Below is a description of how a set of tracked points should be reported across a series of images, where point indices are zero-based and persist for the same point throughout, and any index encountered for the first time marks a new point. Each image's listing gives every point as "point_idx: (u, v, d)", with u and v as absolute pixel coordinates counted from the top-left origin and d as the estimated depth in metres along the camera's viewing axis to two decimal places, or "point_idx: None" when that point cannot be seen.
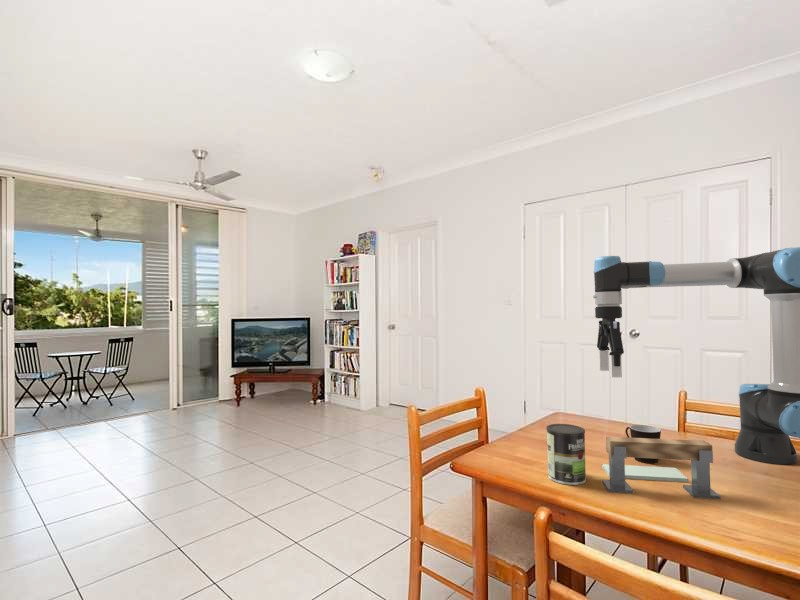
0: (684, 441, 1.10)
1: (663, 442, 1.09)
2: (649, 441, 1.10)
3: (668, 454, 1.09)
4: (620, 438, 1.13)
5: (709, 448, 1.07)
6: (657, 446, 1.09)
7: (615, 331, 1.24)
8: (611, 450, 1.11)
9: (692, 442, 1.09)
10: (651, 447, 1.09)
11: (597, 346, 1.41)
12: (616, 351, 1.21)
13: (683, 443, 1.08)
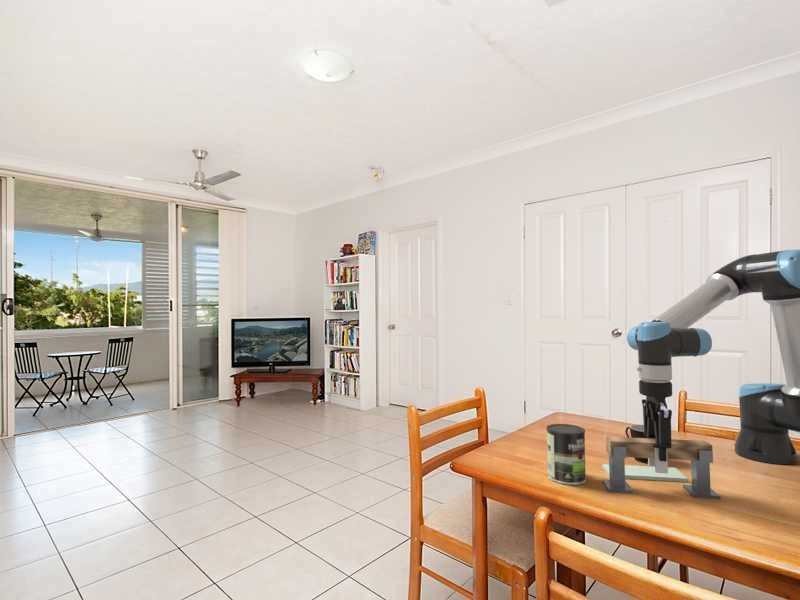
0: (684, 441, 1.10)
1: None
2: (649, 441, 1.10)
3: (668, 454, 1.09)
4: (620, 438, 1.13)
5: (709, 448, 1.07)
6: None
7: (665, 422, 1.05)
8: (611, 450, 1.11)
9: (692, 442, 1.09)
10: (651, 447, 1.09)
11: (644, 433, 1.16)
12: (662, 445, 1.06)
13: (683, 443, 1.08)
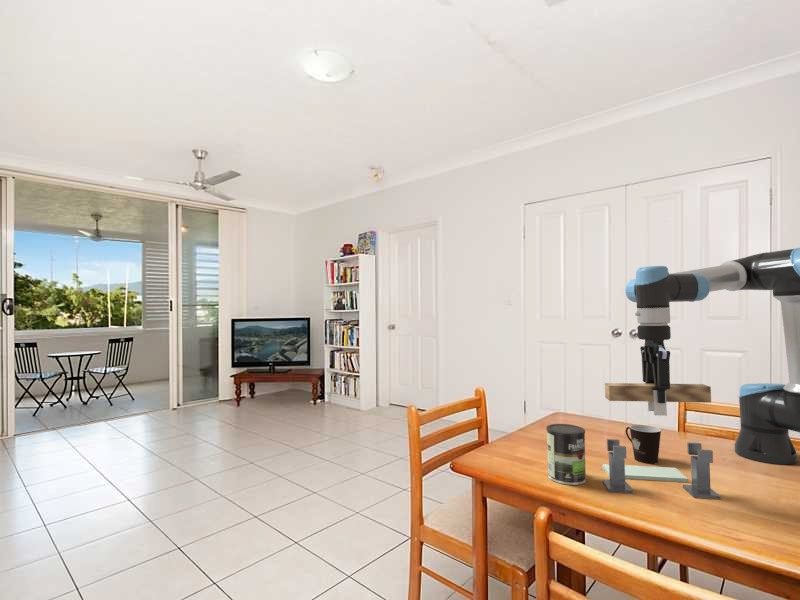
0: (683, 384, 1.10)
1: None
2: (648, 385, 1.11)
3: (666, 397, 1.09)
4: (619, 383, 1.14)
5: (707, 389, 1.07)
6: None
7: (663, 363, 1.06)
8: (610, 394, 1.12)
9: (690, 385, 1.10)
10: (650, 390, 1.10)
11: (643, 380, 1.16)
12: (661, 386, 1.06)
13: (682, 386, 1.09)
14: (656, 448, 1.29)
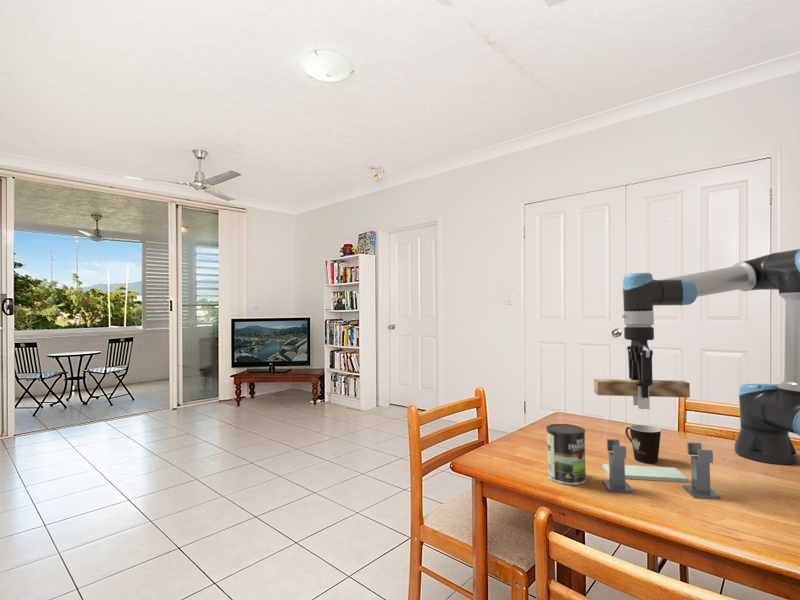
0: (664, 381, 1.21)
1: None
2: (633, 381, 1.22)
3: (649, 392, 1.20)
4: (607, 380, 1.25)
5: (687, 385, 1.18)
6: None
7: (646, 361, 1.16)
8: (598, 389, 1.22)
9: (672, 381, 1.20)
10: (634, 386, 1.20)
11: (629, 377, 1.27)
12: (644, 382, 1.17)
13: (664, 382, 1.20)
14: (656, 448, 1.29)
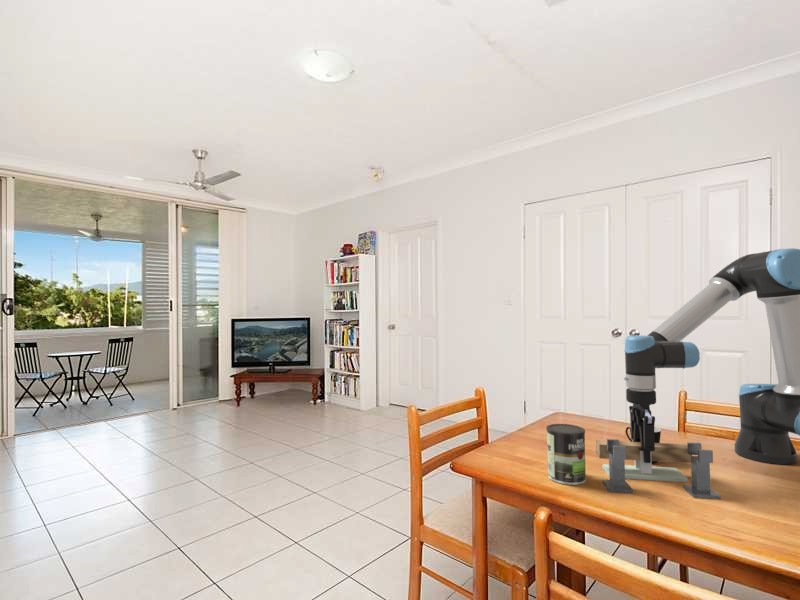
0: (667, 444, 1.21)
1: None
2: (635, 444, 1.21)
3: (652, 457, 1.19)
4: None
5: None
6: None
7: (649, 427, 1.16)
8: (600, 453, 1.22)
9: (674, 445, 1.20)
10: (636, 450, 1.20)
11: (631, 437, 1.27)
12: (647, 448, 1.16)
13: (666, 446, 1.19)
14: None
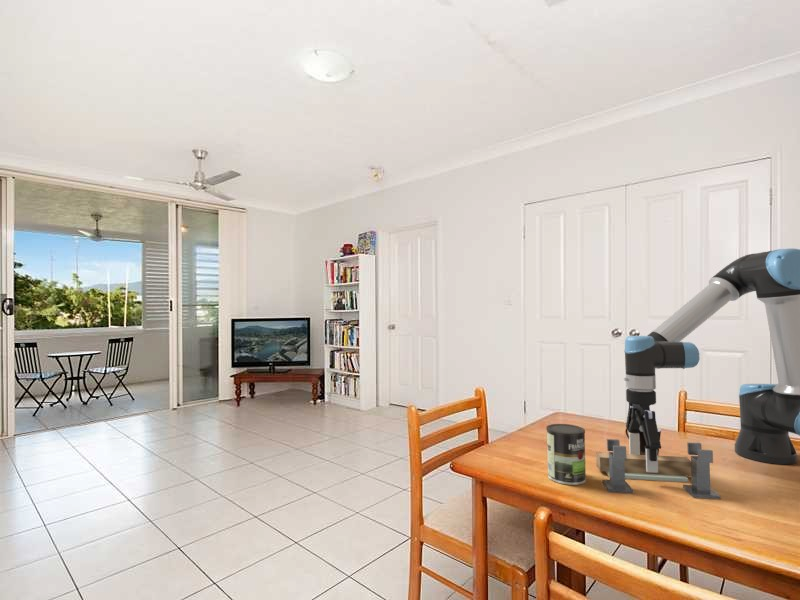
0: (667, 457, 1.21)
1: None
2: (636, 457, 1.21)
3: None
4: None
5: (689, 464, 1.17)
6: (642, 462, 1.20)
7: (651, 422, 1.15)
8: (600, 465, 1.22)
9: (674, 458, 1.20)
10: (637, 463, 1.20)
11: (626, 427, 1.31)
12: (653, 446, 1.12)
13: (666, 459, 1.19)
14: None
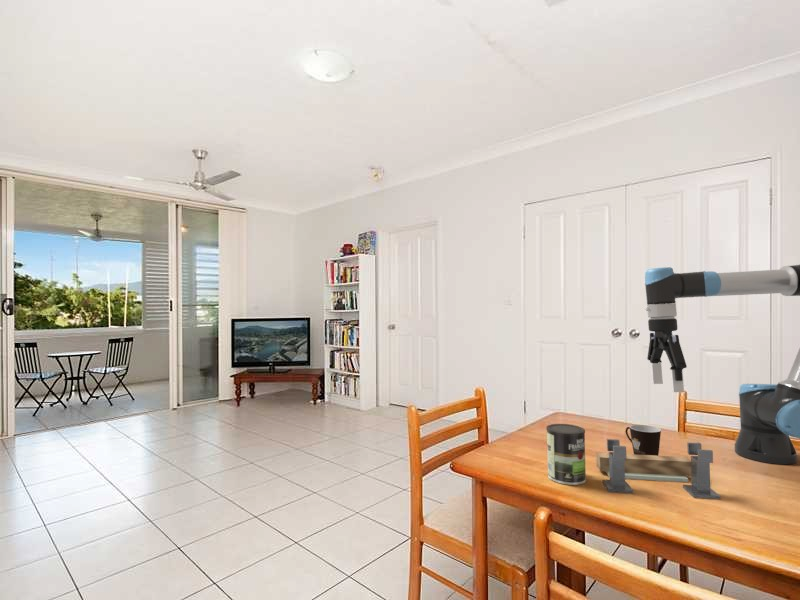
0: (667, 457, 1.21)
1: (648, 458, 1.20)
2: (636, 457, 1.21)
3: (652, 470, 1.19)
4: None
5: (689, 464, 1.17)
6: (642, 462, 1.20)
7: (675, 345, 1.22)
8: (600, 465, 1.22)
9: (674, 458, 1.20)
10: (637, 463, 1.20)
11: (648, 359, 1.38)
12: (679, 365, 1.19)
13: (666, 459, 1.19)
14: (656, 448, 1.29)
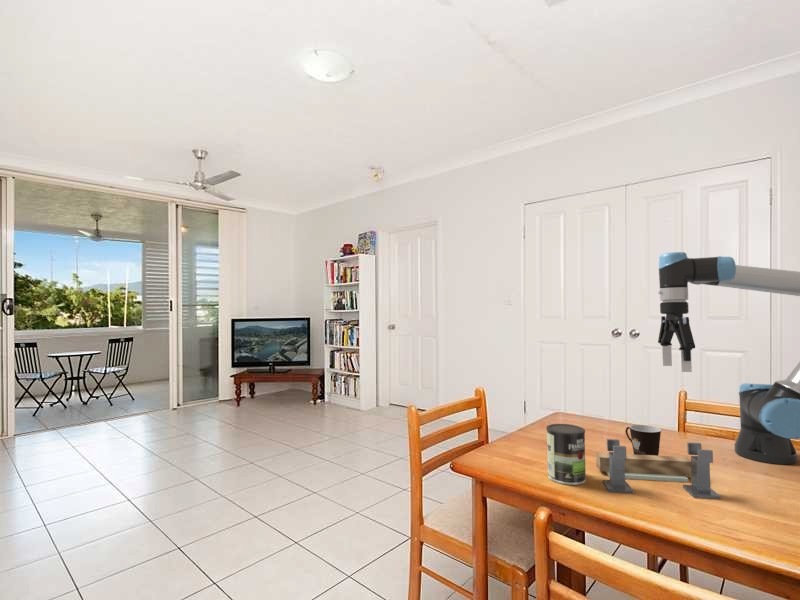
0: (667, 457, 1.21)
1: (648, 458, 1.20)
2: (636, 457, 1.21)
3: (652, 470, 1.19)
4: None
5: (689, 464, 1.17)
6: (642, 462, 1.20)
7: (685, 326, 1.26)
8: (600, 465, 1.22)
9: (674, 458, 1.20)
10: (637, 463, 1.20)
11: (658, 342, 1.42)
12: (687, 346, 1.23)
13: (666, 459, 1.19)
14: (656, 448, 1.29)
